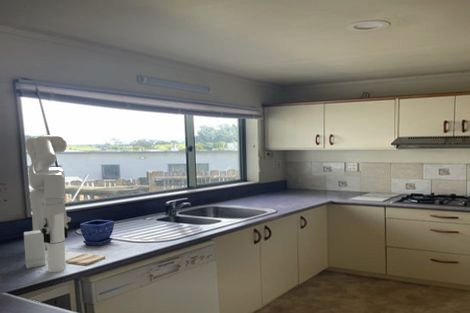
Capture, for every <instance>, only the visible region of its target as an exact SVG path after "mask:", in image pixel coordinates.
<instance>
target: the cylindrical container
mask: <svg viewBox="0 0 470 313" xmlns="http://www.w3.org/2000/svg"><path fill="white" fill-rule="evenodd" d="M47 226H48V227H49V225H48V224H47ZM49 234H50V243H47V248H46V250H47V251H46V252H47V254H46V255H47V258H48V260H47V271H48V272H50V273H58V272H62V271H65V270H66V269H67V266H66V265H67V264H66V263H67V262H65V252H66V244H65V243H66V241H65V239H66V238H65V236H64V213H61V214H56V215H55V222H54V228H51V230H50V231H49Z"/></svg>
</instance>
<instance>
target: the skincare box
mask: <svg viewBox="0 0 470 313" xmlns="http://www.w3.org/2000/svg"><path fill="white" fill-rule="evenodd" d="M23 242H24V243H23V244H24V256H25V257H24V259H25V266H26V267H25V268H26V269H31V268H35V267H41V266H46V265H47V264H46V252H45V251H46V249H45V246H44V237H43V234H42V232H41V231H40V230H36V231H33V230H30V231H24V232H23Z"/></svg>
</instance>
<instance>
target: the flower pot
mask: <svg viewBox="0 0 470 313" xmlns="http://www.w3.org/2000/svg"><path fill="white" fill-rule="evenodd" d="M114 226H115V221H114V220H104V219H93V220H90V221H86V222H85V221H84V222H82V223H80V224H79V228H80V233H81V235H82V237H83V239H84V240H83V244H85V245H87V246H97V247H99V246H103V245H105V244H108V243H111V242H112V241H113V239H114V238H113V237H111V236H112V234H113V230H114Z"/></svg>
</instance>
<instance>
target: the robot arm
mask: <svg viewBox="0 0 470 313" xmlns="http://www.w3.org/2000/svg"><path fill="white" fill-rule="evenodd" d="M67 144H68V143H67V140H66V138H65V136H63V135H61V134H54V135H52V134H50V135H49V134H46V135H45V134H43V135H38V136H32V137H29V138H27V139H26V140H25V147H26V148H25V149H26V151H27V154H28V155H29V157H30V160H31V163H30V166H29V169H28V178H29V185H30V187H31V189H32V190H31V191H30V193H29V200H30V207H31V215H32V216H31V217H32V231H36V230H40V231H41V232H42V234H43V237H44V246H45V250H47V243H50V234H49V231H50V230H51V228H54V222H55V215H56V214H61V213H64V236H65V239H66V238H68V236H69V235H68V229H69V226H70V225H71V220H72V217H70V216H68V215H67V209H66V205H65V201H66V179H65V171H64V170H63V168H61V167H59V166H58V167H57V166H55V167H54V166H53V165H54V164H55V163H56V161H57V154H58V153H59V154H61V153H64V152H65V151H66V149H67V147H68V146H67ZM51 166H53V167H51ZM47 224H48V225H49V227H48V226H47Z"/></svg>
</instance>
